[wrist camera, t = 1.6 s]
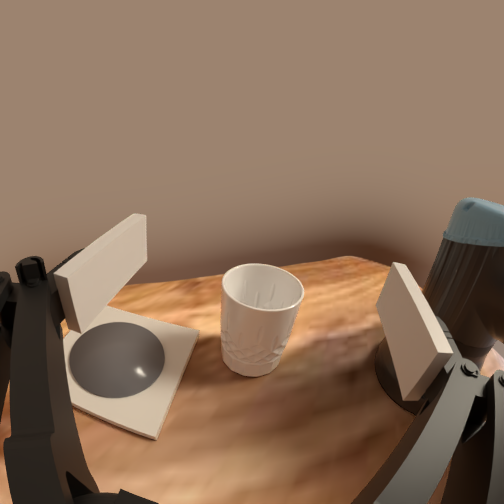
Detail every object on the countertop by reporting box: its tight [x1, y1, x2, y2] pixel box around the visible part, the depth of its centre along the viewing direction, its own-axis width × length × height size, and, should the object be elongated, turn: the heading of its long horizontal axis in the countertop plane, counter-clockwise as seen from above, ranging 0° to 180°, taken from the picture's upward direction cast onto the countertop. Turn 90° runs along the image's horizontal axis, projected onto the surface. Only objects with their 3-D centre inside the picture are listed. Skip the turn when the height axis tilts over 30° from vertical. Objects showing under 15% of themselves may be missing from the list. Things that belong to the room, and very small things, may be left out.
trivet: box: [63, 306, 199, 440], centre depth 28 cm, size 15×15×1 cm
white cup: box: [221, 264, 304, 377], centre depth 30 cm, size 8×8×10 cm
